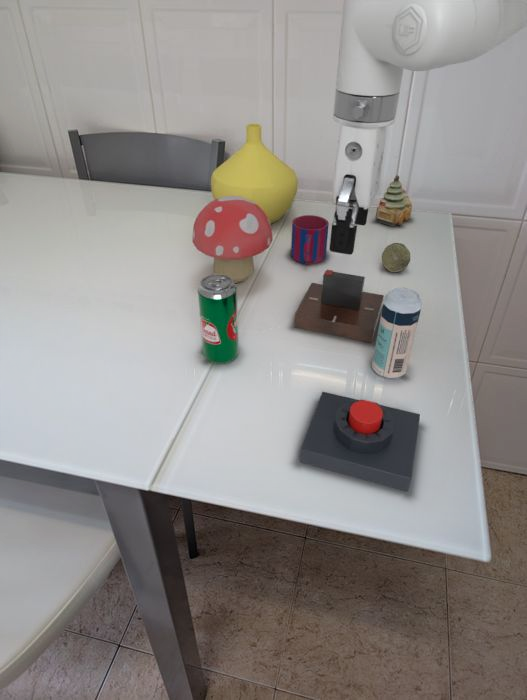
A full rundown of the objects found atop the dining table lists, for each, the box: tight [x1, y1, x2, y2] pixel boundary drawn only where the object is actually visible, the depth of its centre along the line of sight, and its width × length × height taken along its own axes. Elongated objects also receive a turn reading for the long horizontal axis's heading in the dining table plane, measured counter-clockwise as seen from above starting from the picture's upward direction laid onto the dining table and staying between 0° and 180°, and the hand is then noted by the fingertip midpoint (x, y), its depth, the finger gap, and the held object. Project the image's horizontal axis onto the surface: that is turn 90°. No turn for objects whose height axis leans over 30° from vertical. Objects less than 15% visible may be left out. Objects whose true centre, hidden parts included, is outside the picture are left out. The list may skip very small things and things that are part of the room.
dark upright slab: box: [321, 269, 366, 310], centre depth 76 cm, size 6×2×5 cm, turn 71°
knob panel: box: [293, 282, 385, 344], centre depth 78 cm, size 12×10×3 cm
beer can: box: [371, 287, 423, 379], centre depth 65 cm, size 5×5×12 cm
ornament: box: [375, 174, 413, 227], centre depth 105 cm, size 8×6×10 cm
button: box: [348, 399, 383, 434], centre depth 55 cm, size 4×4×2 cm
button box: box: [299, 391, 421, 492], centre depth 57 cm, size 12×10×4 cm
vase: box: [210, 123, 299, 225], centre depth 103 cm, size 18×18×19 cm
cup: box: [290, 214, 330, 265], centre depth 92 cm, size 7×10×7 cm
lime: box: [381, 242, 411, 273], centre depth 90 cm, size 4×5×5 cm
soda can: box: [197, 273, 240, 365], centre depth 68 cm, size 5×5×12 cm
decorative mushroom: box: [191, 196, 274, 284], centre depth 83 cm, size 13×13×15 cm
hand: (348, 237), depth 71 cm, fingers open, 9 cm apart
